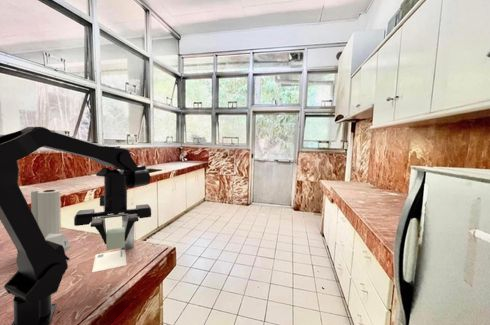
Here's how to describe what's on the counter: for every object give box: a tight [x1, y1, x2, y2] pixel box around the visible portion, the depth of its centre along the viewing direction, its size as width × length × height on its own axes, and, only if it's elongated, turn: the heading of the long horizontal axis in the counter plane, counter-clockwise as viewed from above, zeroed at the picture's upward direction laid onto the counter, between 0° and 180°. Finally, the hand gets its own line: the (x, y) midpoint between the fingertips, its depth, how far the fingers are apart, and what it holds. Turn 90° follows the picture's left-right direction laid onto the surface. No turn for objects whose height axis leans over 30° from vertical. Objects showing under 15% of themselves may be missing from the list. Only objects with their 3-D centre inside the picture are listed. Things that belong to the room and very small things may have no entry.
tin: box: [121, 216, 135, 250], centre depth 80 cm, size 4×4×12 cm
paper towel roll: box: [30, 189, 62, 238], centre depth 76 cm, size 7×6×21 cm
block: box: [105, 227, 125, 251], centre depth 63 cm, size 4×4×4 cm
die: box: [45, 233, 72, 253], centre depth 71 cm, size 8×9×10 cm
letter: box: [91, 249, 127, 274], centre depth 71 cm, size 12×9×1 cm
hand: (115, 242), depth 63 cm, fingers closed on block, 4 cm apart
